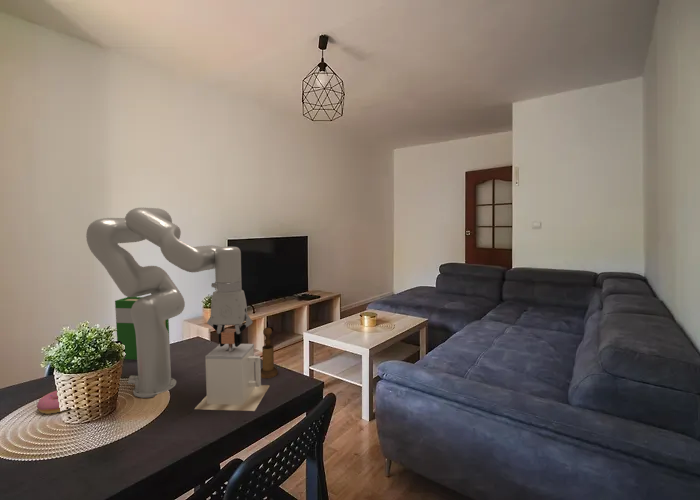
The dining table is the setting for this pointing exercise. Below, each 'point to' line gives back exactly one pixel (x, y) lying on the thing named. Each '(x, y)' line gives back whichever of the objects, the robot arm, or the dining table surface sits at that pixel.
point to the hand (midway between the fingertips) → (230, 344)
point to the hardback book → (128, 325)
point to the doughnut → (49, 403)
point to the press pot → (231, 374)
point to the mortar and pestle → (268, 357)
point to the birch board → (247, 406)
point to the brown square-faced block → (228, 337)
